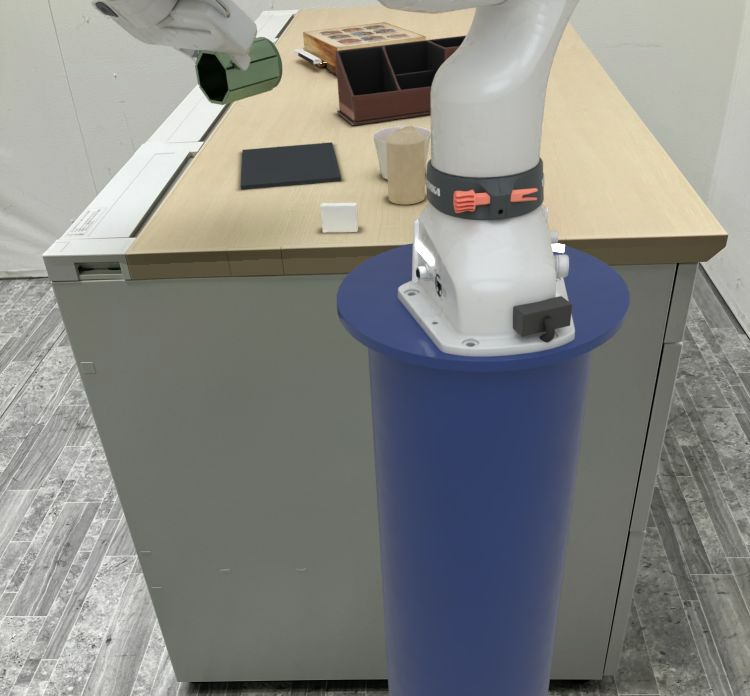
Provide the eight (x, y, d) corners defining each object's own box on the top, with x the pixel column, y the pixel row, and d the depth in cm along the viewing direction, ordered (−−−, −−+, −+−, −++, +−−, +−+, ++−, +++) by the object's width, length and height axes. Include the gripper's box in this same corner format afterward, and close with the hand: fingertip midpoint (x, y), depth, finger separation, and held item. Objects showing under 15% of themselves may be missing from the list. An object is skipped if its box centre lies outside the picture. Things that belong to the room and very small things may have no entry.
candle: (406, 190, 127) (404, 120, 120) (432, 197, 123) (432, 126, 117) (380, 199, 124) (377, 129, 118) (407, 207, 121) (405, 135, 114)
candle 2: (373, 168, 136) (371, 128, 132) (428, 165, 136) (427, 124, 132) (376, 186, 129) (374, 144, 125) (434, 182, 129) (433, 140, 125)
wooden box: (292, 60, 208) (327, 81, 187) (289, 32, 204) (325, 49, 183) (382, 49, 214) (426, 67, 194) (381, 21, 210) (426, 36, 190)
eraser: (323, 229, 116) (321, 203, 113) (358, 228, 115) (356, 202, 113) (322, 232, 115) (320, 206, 112) (357, 232, 114) (355, 205, 112)
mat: (341, 180, 132) (341, 177, 131) (241, 189, 131) (240, 185, 130) (332, 145, 147) (332, 142, 147) (242, 153, 146) (242, 149, 146)
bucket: (253, 86, 113) (246, 35, 109) (285, 90, 110) (279, 38, 106) (200, 101, 108) (191, 48, 104) (232, 106, 104) (225, 52, 100)
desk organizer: (493, 106, 163) (495, 42, 156) (352, 126, 156) (348, 60, 149) (471, 95, 171) (472, 33, 164) (336, 113, 164) (331, 50, 157)
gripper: (219, -41, 87) (293, 46, 99) (103, -45, 98) (183, 34, 110) (194, 14, 88) (271, 94, 99) (82, 4, 98) (163, 77, 110)
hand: (224, 62), depth 105 cm, fingers closed on bucket, 6 cm apart
